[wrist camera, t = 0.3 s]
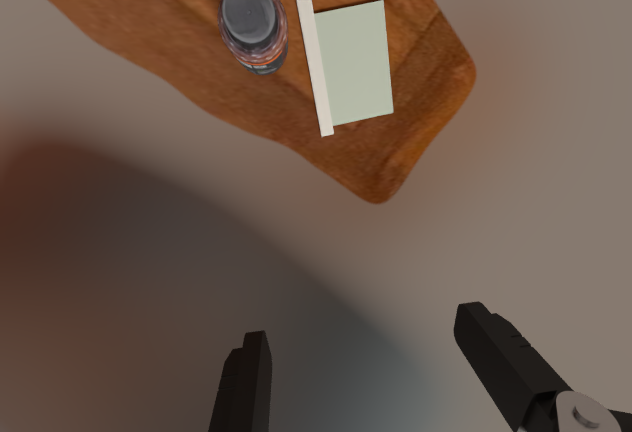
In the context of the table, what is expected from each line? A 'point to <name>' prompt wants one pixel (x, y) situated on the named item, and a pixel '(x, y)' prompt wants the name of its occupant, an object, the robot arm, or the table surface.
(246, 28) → the supplement bottle
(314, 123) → the table surface
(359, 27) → the white flat t-shaped panel
